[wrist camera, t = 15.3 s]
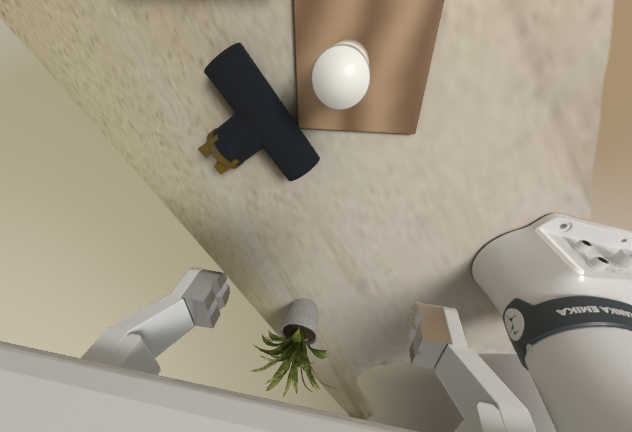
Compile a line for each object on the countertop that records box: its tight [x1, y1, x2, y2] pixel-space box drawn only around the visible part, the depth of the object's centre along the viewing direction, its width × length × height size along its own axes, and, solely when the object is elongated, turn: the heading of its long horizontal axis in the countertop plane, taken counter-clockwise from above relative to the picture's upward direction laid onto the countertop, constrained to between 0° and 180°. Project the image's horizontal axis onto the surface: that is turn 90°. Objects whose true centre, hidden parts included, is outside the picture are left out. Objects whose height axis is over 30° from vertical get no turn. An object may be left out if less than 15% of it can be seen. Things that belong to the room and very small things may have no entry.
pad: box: [294, 0, 444, 134], centre depth 29 cm, size 14×14×1 cm
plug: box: [312, 39, 370, 110], centre depth 25 cm, size 4×4×10 cm
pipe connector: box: [198, 43, 320, 181], centre depth 34 cm, size 12×5×15 cm
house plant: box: [253, 299, 338, 396], centre depth 49 cm, size 14×14×16 cm
